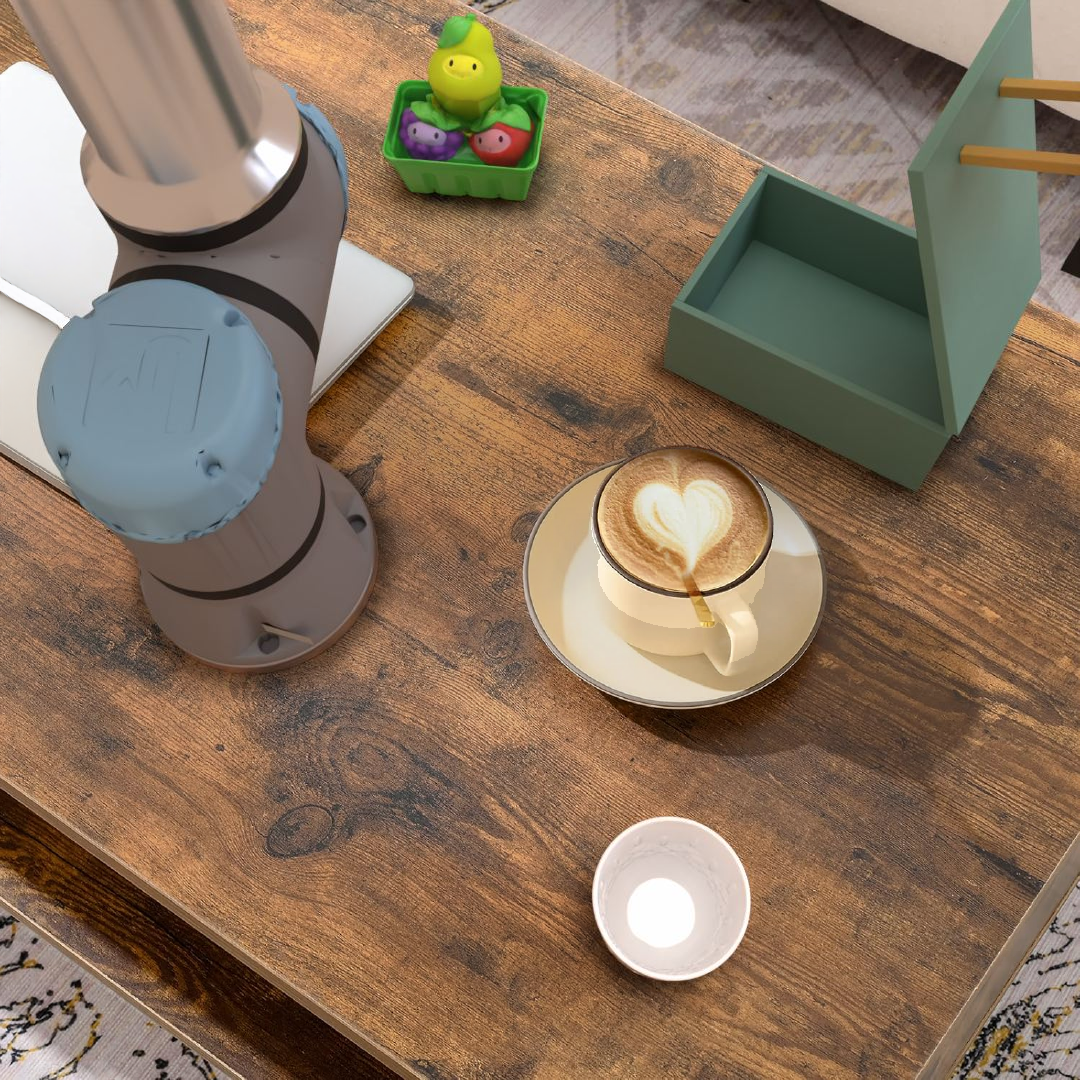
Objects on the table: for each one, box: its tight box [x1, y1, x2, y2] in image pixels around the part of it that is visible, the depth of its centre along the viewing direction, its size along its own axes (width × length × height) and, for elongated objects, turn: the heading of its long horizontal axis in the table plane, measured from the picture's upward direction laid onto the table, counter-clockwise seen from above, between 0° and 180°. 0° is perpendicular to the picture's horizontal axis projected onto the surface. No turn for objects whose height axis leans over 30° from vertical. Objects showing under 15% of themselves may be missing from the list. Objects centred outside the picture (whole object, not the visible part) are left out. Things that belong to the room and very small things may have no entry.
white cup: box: [591, 816, 752, 982], centre depth 62 cm, size 8×8×10 cm
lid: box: [906, 0, 1080, 436], centre depth 62 cm, size 20×13×10 cm
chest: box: [663, 164, 953, 493], centre depth 78 cm, size 19×13×8 cm
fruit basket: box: [381, 12, 549, 202], centre depth 84 cm, size 11×9×11 cm
